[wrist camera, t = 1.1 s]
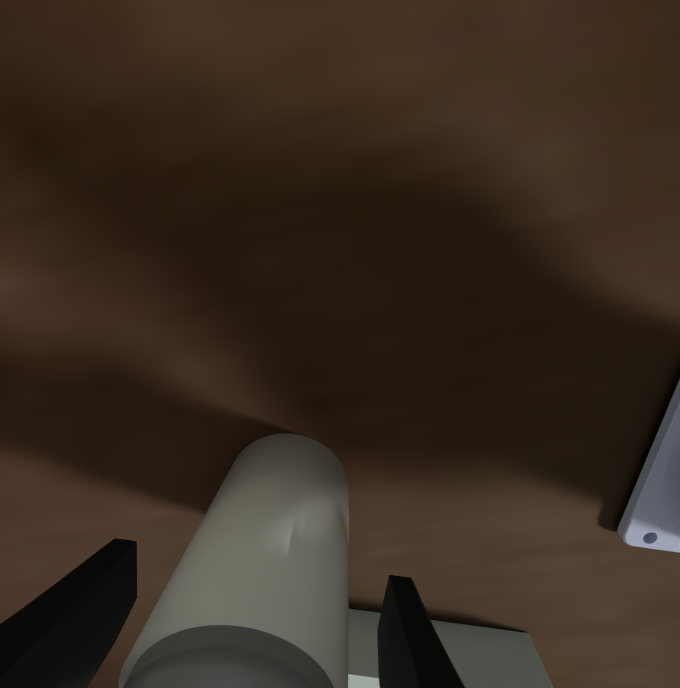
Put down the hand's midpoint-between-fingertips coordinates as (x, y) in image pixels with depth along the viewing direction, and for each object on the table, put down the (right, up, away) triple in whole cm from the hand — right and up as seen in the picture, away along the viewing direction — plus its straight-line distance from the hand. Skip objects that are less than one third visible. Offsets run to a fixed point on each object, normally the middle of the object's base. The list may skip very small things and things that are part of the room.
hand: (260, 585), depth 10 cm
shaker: (0, +1, +4) cm, 4 cm away
